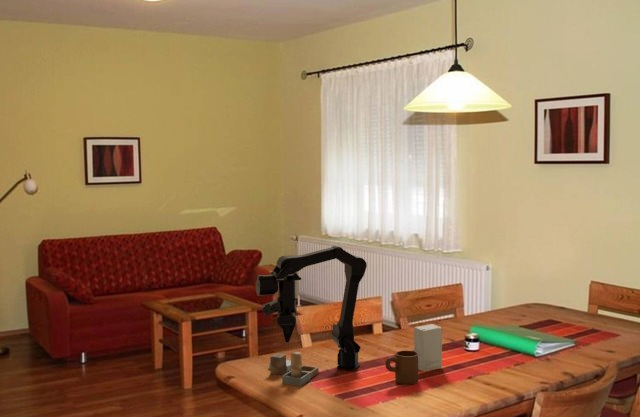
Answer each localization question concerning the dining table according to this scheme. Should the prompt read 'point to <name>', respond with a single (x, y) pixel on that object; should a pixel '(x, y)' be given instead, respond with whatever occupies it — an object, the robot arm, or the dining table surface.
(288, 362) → the pale grey box
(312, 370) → the socket block
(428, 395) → the dining table surface
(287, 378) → the tray
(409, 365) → the mug
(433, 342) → the skincare box
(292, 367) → the dowel
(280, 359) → the block
